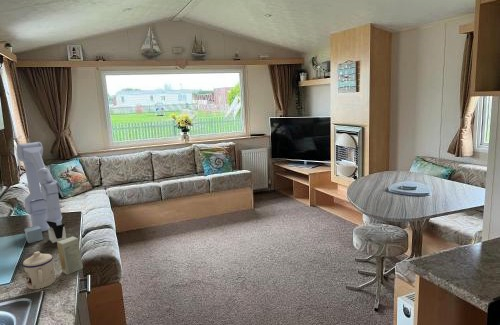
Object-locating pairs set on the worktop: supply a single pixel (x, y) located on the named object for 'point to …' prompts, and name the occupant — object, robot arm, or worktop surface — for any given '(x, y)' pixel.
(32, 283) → the teacup with lid
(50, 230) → the cover
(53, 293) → the worktop surface
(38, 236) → the cover
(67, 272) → the skincare box
